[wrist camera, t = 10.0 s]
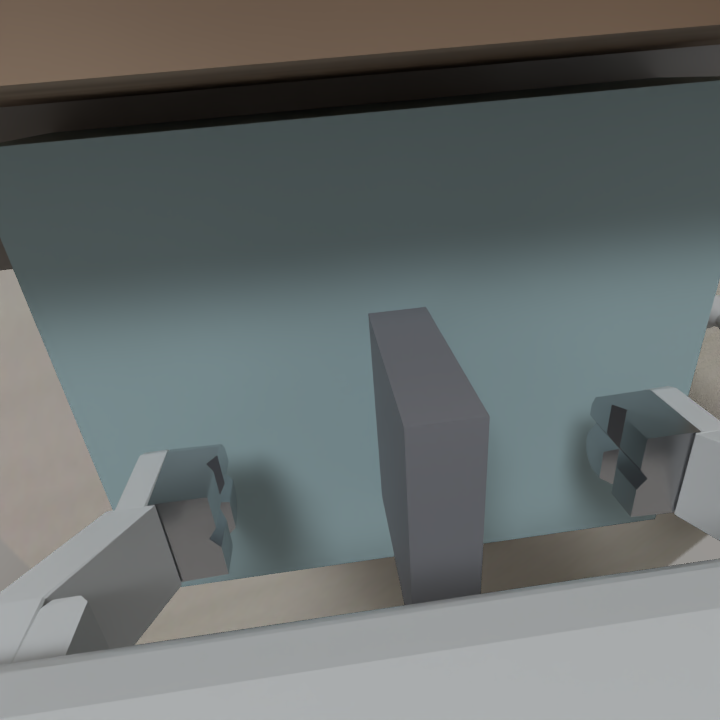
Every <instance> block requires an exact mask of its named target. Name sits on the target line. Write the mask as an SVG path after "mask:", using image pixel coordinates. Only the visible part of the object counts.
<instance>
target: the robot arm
mask: <svg viewBox="0 0 720 720" xmlns="http://www.w3.org/2000/svg"><path fill="white" fill-rule="evenodd" d="M590 415H591V417H592V418H593V420H594V421H595V422H596V424H595V425H594V426H593V427H592V428H591V429H590V431H589V432H588V433H587V441H586V450H587V455H588V460H589V462H590V465H591V467H592V469H593V470H594V472H595V473H596V474H597V476H598V477H599V478H600V479H602V480H605V481H607V482H609V483H611V484H613V487H612V495H613V496H614V497H615V498H616V499H617V501H618V502H619V503H620V504H621V506H622V507H623V508H624V509H625V511H626V512H627V513H628V514H629V516H630V517H637V516H646V515H654V514H663V513H672V512H675V513H674V514H675V515H676V516H678V517H680V518H681V519H683V520H685V521H687V522H688V523H690V524H692V525H693V526H695V527H697V528H698V529H700V530H702V531H704V532H705V533H707V534H709V535H710V536H712V537H714V538H715V539H717V540H719V541H720V421H719V420H718V419H717V418H716V417H714V416H713V415H712V414H710V413H709V412H708V411H706V410H705V409H704V408H702V407H701V406H700V405H698V404H697V403H696V402H694V401H693V400H692V399H690V398H689V397H688V396H686V395H685V394H684V393H682V392H681V391H680V390H678V389H677V388H675V387H671V386H664V387H657V388H651V389H645V390H642V391H635V392H628V393H621V394H614V395H607V396H600V397H595V399H594V401H593V403H592V406H591V412H590ZM228 463H229V461H228V457H227V453H226V450H225V447H224V446H223V445H222V444H216V445H207V446H197V447H188V448H179V449H171V450H161V451H153V452H146V453H143V454H142V455H140V456H139V458H138V460H137V462H136V465H135V467H134V469H133V471H132V473H131V476H130V478H129V480H128V482H127V485H126V487H125V489H124V491H123V493H122V496H121V498H120V500H119V502H118V504H117V507H116V509H115V510H114V511H107V512H105V513H104V514H103V515H101V516H100V517H99V518H97V519H96V520H95V521H93V522H92V523H91V524H90V525H88V526H87V527H86V528H84V529H83V530H82V531H80V532H79V533H78V534H76V535H75V536H74V537H72V538H71V539H70V540H68V541H67V542H66V543H65V544H63V545H62V546H61V547H59V548H58V549H57V550H55V551H54V552H53V553H51V554H50V555H49V556H47V557H46V558H45V559H43V560H42V561H41V562H40V563H38V564H37V565H36V566H34V567H33V568H32V569H30V570H29V571H28V572H26V573H25V574H24V575H22V576H21V577H20V578H19V579H17V580H16V581H15V582H13V583H12V584H11V585H9V586H8V587H7V588H5V589H4V590H3V591H1V592H0V720H720V559H714V560H707V561H700V562H693V563H686V564H680V565H673V566H666V567H659V568H652V569H646V570H639V571H632V572H625V573H618V574H611V575H605V576H598V577H591V578H584V579H577V580H570V581H564V582H557V583H550V584H544V585H537V586H530V587H523V588H517V589H510V590H503V591H497V592H490V593H483V594H477V595H470V596H463V597H457V598H450V599H443V600H436V601H430V602H423V603H416V604H410V605H403V606H396V607H390V608H383V609H376V610H369V611H363V612H356V613H349V614H342V615H336V616H329V617H322V618H315V619H309V620H302V621H295V622H288V623H282V624H275V625H268V626H261V627H255V628H248V629H241V630H234V631H228V632H221V633H214V634H207V635H201V636H194V637H187V638H180V639H173V640H167V641H160V642H153V643H146V644H140V645H135V644H136V642H137V641H138V640H139V638H140V637H141V636H142V635H143V633H144V632H145V631H146V630H147V628H148V627H149V626H150V625H151V623H152V622H153V621H154V619H155V618H156V617H157V616H158V614H159V613H160V612H161V611H162V609H163V608H164V607H165V605H166V604H167V603H168V602H169V600H170V599H171V598H172V597H173V595H174V594H175V593H176V592H177V590H178V589H179V588H180V586H181V585H182V583H181V582H185V581H191V580H197V579H203V578H209V577H215V576H221V575H226V574H229V569H230V563H231V556H232V550H233V543H232V539H231V535H230V533H231V532H232V531H233V530H234V529H235V528H236V522H237V497H236V490H235V485H234V481H233V479H232V478H230V477H229V476H228V475H227V468H228Z"/></svg>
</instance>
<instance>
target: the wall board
mask: <svg viewBox="0 0 720 720" xmlns="http://www.w3.org/2000/svg"><path fill="white" fill-rule="evenodd" d="M709 76H720V0H0V143H1V142H6V141H11V140H16V139H21V138H26V137H32V136H37V135H42V134H47V133H53V132H64V131H75V130H86V129H97V128H108V127H119V126H130V125H141V124H152V123H163V122H174V121H185V120H196V119H207V118H218V117H229V116H240V115H251V114H262V113H273V112H284V111H295V110H306V109H317V108H328V107H339V106H350V105H361V104H372V103H383V102H394V101H405V100H415V99H426V98H437V97H448V96H459V95H470V94H481V93H492V92H503V91H514V90H525V89H536V88H547V87H558V86H569V85H580V84H591V83H602V82H613V81H624V80H635V79H646V78H657V77H709ZM7 269H13V267H12V265H11V263H10V260H9V258H8V255H7V253H6V250H5V248H4V246H3V243H2V241H1V238H0V270H7Z"/></svg>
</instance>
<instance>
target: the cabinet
mask: <svg viewBox="0 0 720 720" xmlns="http://www.w3.org/2000/svg"><path fill="white" fill-rule="evenodd" d="M0 238H1V241H2V243H3V246H4V248H5V250H6V253H7V255H8V258H9V260H10V263H11V265H12V267H13V270H14V272H15V275H16V277H17V279H18V282H19V284H20V287H21V289H22V292H23V294H24V296H25V299H26V301H27V304H28V306H29V308H30V311H31V313H32V316H33V318H34V320H35V323H36V325H37V328H38V330H39V333H40V335H41V337H42V340H43V342H44V345H45V347H46V349H47V352H48V354H49V357H50V359H51V362H52V364H53V366H54V369H55V371H56V374H57V376H58V378H59V381H60V383H61V386H62V388H63V390H64V393H65V395H66V398H67V400H68V403H69V405H70V407H71V410H72V412H73V415H74V417H75V419H76V422H77V424H78V427H79V429H80V432H81V434H82V436H83V439H84V441H85V444H86V446H87V448H88V451H89V453H90V456H91V458H92V460H93V463H94V465H95V468H96V470H97V473H98V475H99V477H100V480H101V482H102V485H103V487H104V489H105V492H106V494H107V497H108V499H109V502H110V504H111V506H112V509H113V511H114V510H115V509H116V507H117V504H118V502H119V500H120V498H121V496H122V493H123V491H124V489H125V487H126V485H127V482H128V480H129V478H130V476H131V473H132V471H133V469H134V467H135V465H136V462H137V460H138V458H139V456H140V455H142V454H143V453H146V452H153V451H161V450H171V449H179V448H188V447H197V446H207V445H216V444H222V445H223V446H224V447H225V450H226V453H227V457H228V461H229V463H228V468H227V475H228V476H229V477H230V478H232V479H233V481H234V485H235V490H236V497H237V522H236V528H235V529H234V530H233V531H232V532H231V533H230V535H231V539H232V543H233V550H232V556H231V563H230V569H229V574H226V575H221V576H215V577H209V578H203V579H197V580H191V581H185V582H181V583H182V585H181V586H180V587H184V586H191V585H198V584H205V583H212V582H219V581H226V580H233V579H240V578H247V577H254V576H261V575H268V574H275V573H282V572H289V571H296V570H303V569H310V568H317V567H324V566H331V565H338V564H345V563H351V562H358V561H365V560H372V559H379V558H386V557H393V556H395V561H396V566H397V571H398V575H399V580H400V585H401V590H402V595H403V599H404V604H405V605H410V604H416V603H423V602H430V601H436V600H443V599H450V598H457V597H463V596H470V595H477V594H481V577H482V557H483V544H484V543H491V542H498V541H505V540H512V539H519V538H526V537H532V536H539V535H546V534H553V533H560V532H567V531H574V530H581V529H588V528H595V527H602V526H609V525H616V524H623V523H630V522H637V521H644V520H651V519H655V517H656V514H654V515H646V516H637V517H630V516H629V514H628V513H627V512H626V511H625V509H624V508H623V507H622V506H621V504H620V503H619V502H618V501H617V499H616V498H615V497H614V496H613V495H612V487H613V484H611V483H609V482H607V481H605V480H602V479H600V478H599V477H598V476H597V474H596V473H595V472H594V470H593V469H592V467H591V465H590V462H589V460H588V455H587V450H586V441H587V433H588V432H589V431H590V429H591V428H592V427H593V426H594V425H595V424H596V422H595V421H594V420H593V418H592V417H591V415H590V412H591V406H592V403H593V401H594V399H595V397H600V396H607V395H614V394H621V393H628V392H635V391H642V390H645V389H651V388H657V387H664V386H671V387H675V388H677V389H678V390H680V391H681V392H682V393H684V394H685V395H686V396H688V394H689V391H690V387H691V383H692V380H693V376H694V372H695V368H696V365H697V361H698V357H699V353H700V350H701V346H702V342H703V339H704V335H705V331H706V327H707V324H708V320H709V316H710V312H711V309H712V305H713V301H714V298H715V294H716V290H717V286H718V283H719V279H720V76H709V77H657V78H646V79H635V80H624V81H613V82H602V83H591V84H580V85H569V86H558V87H547V88H536V89H525V90H514V91H503V92H492V93H481V94H470V95H459V96H448V97H437V98H426V99H415V100H405V101H394V102H383V103H372V104H361V105H350V106H339V107H328V108H317V109H306V110H295V111H284V112H273V113H262V114H251V115H240V116H229V117H218V118H207V119H196V120H185V121H174V122H163V123H152V124H141V125H130V126H119V127H108V128H97V129H86V130H75V131H64V132H53V133H47V134H42V135H37V136H32V137H26V138H21V139H16V140H11V141H6V142H1V143H0Z"/></svg>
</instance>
